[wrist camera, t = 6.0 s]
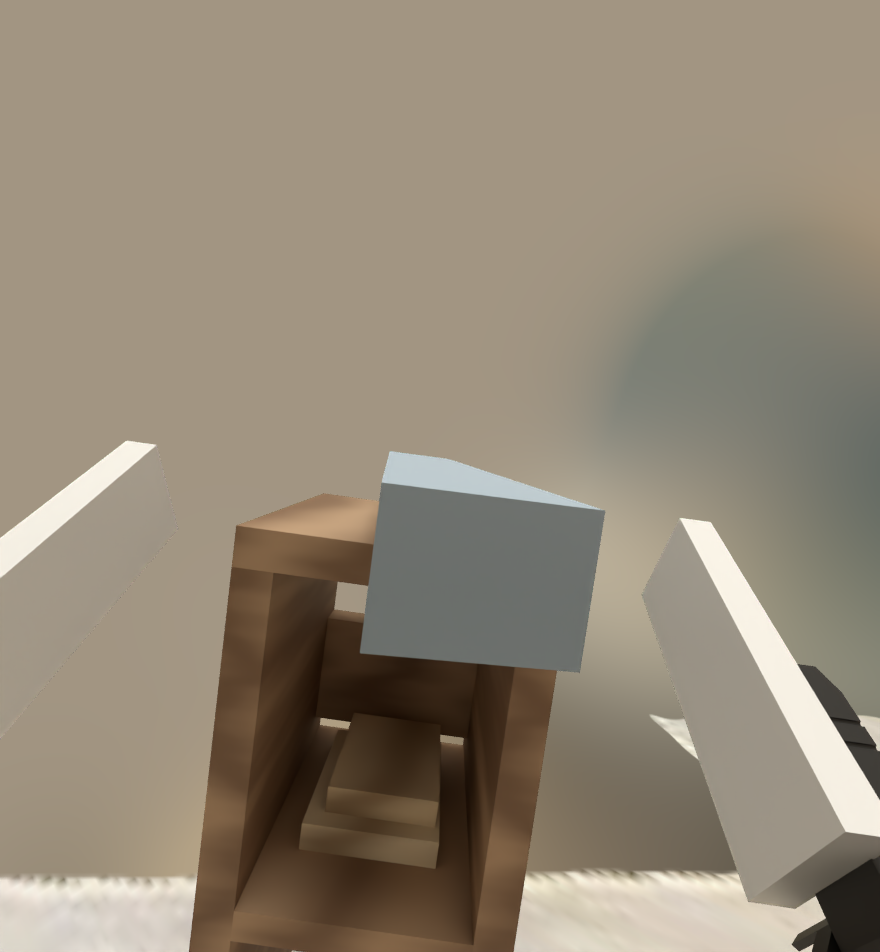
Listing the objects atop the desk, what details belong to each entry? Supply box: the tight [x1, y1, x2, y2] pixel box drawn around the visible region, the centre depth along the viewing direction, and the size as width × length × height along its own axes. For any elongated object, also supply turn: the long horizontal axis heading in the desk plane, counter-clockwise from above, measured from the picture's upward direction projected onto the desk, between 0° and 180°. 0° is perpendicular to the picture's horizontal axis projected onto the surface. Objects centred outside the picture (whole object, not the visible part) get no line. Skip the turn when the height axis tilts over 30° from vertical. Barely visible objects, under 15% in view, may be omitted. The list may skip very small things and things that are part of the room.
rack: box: [189, 479, 557, 952], centre depth 24 cm, size 12×12×32 cm
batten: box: [360, 451, 605, 672], centre depth 20 cm, size 4×24×3 cm, turn 6°
